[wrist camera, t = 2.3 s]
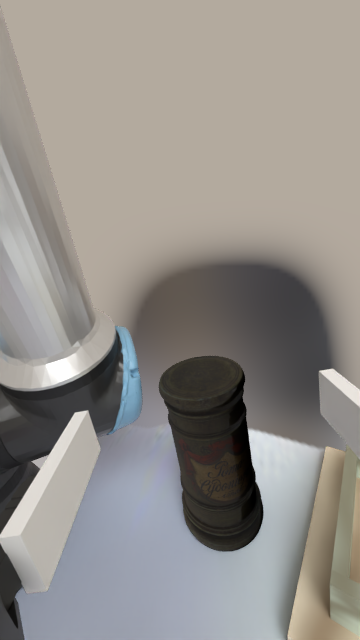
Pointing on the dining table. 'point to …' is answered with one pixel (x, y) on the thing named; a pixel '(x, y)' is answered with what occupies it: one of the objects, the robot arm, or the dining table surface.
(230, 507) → the container
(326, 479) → the collar board
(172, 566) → the dining table surface
